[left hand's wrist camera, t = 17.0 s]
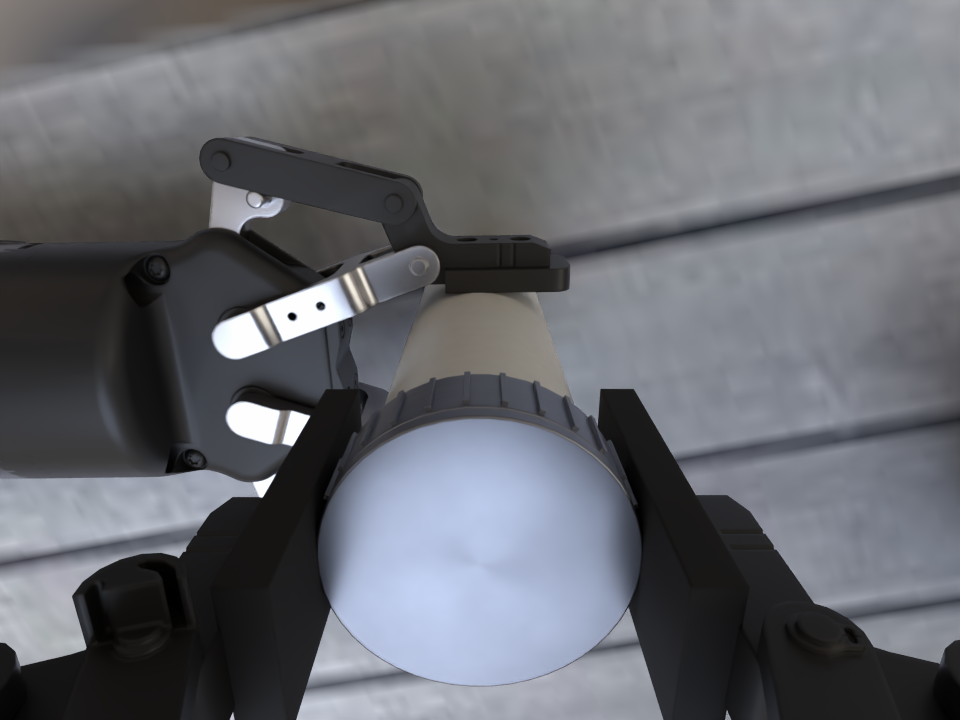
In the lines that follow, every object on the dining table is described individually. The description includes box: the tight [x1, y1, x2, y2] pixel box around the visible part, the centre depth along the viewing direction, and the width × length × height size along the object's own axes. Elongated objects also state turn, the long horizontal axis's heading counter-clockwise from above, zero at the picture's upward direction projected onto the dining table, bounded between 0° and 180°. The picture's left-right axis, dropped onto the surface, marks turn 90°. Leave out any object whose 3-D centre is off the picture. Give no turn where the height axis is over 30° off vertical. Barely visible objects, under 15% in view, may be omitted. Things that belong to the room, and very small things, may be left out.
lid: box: [316, 371, 643, 686], centre depth 11 cm, size 6×6×2 cm
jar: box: [385, 284, 574, 405], centre depth 19 cm, size 5×5×16 cm
